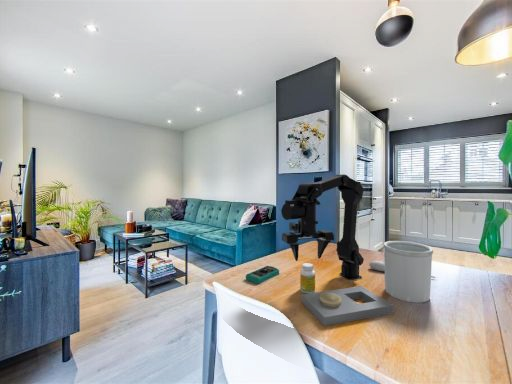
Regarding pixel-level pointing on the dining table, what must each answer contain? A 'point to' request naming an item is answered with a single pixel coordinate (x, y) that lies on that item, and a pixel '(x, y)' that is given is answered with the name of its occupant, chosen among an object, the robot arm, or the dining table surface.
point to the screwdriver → (380, 266)
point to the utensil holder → (408, 270)
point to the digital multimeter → (262, 274)
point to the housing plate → (345, 305)
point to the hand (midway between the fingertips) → (307, 259)
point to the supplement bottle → (307, 278)
